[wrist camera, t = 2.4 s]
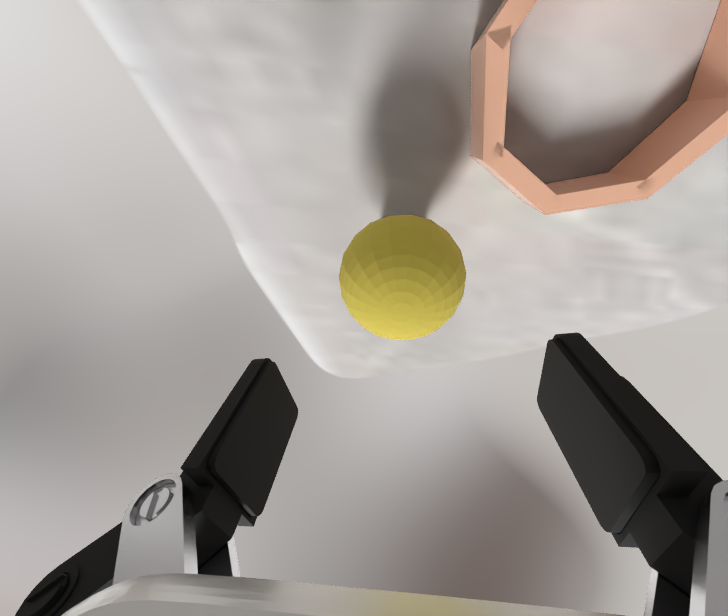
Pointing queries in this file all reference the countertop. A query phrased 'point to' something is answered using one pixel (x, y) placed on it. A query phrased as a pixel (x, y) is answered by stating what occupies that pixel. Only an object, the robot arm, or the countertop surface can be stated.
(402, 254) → the light bulb
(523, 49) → the countertop surface
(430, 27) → the countertop surface
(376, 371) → the countertop surface
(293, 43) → the countertop surface
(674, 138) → the terracotta ring
